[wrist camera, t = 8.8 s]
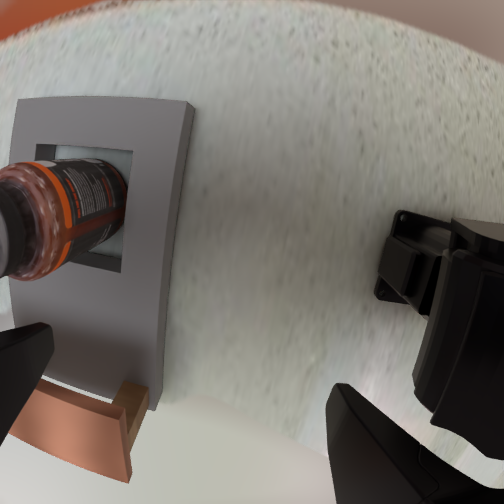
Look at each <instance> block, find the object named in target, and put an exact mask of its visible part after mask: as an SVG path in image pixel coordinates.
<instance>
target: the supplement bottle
mask: <svg viewBox="0 0 504 504" xmlns="http://www.w3.org/2000/svg"><path fill="white" fill-rule="evenodd" d="M126 202H127V192H126V188H125V185H124V182H123V180H122V178H121V176H120V175H119V173H118V172H117V171H116V170H115V169H114V168H113V167H112V166H111V165H109V164H108V163H106V162H104V161H101V160H98V159H89V158H84V159H60V160H43V161H30V162H18V163H14V164H10V165H8V166H6V167H4V168H2V169H1V170H0V278H2V277H4V276H9V277H11V278H13V279H16V280H18V281H34V280H37V279H40V278H42V277H44V276H46V275H48V274H50V273H51V272H53V271H55V270H56V269H58V268H60V267H61V266H63V265H65V264H66V263H68V262H70V261H71V260H73V259H75V258H76V257H78V256H80V255H81V254H83V253H85V252H86V251H88V250H90V249H92V248H94V247H95V246H97V245H99V244H100V243H102V242H104V241H105V240H107V239H108V238H110V237H111V236H112V235H114V234H115V233H116V231H117V230H118V229H119V228H120V226H121V225H122V223H123V220H124V218H125V212H126Z"/></svg>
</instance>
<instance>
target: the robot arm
mask: <svg viewBox="0 0 504 504" xmlns="http://www.w3.org/2000/svg"><path fill="white" fill-rule="evenodd" d="M403 214H404V220H402V221H401V219H400V217H401V215H403ZM378 273H379V278H378V281H377V284H376V288H375V291H374V294H375V296H376V298H377V299H378V300H381V301H388V302H395V303H402V304H409V305H411V306H412V307H413V308H414V309H415V310H416V311H417V312H418V313H419V314H420V315H422V316H423V317H424V318H425V319H426V320H427V321H428V323H427V327H426V330H425V334H424V337H423V341H422V344H421V348H420V351H419V354H418V357H417V360H416V364H415V367H414V370H413V373H412V377H413V382H414V386H415V390H414V394H415V396H416V397H417V399H418V400H419V401H420V403H421V404H422V405H423V406H424V407H425V408H427V409H428V410H429V411H430V412H431V413H433V416H432V418H431V420H430V423H431V424H432V425H434V426H438V427H441V428H444V429H447V430H450V431H452V432H454V433H456V434H457V435H459V436H461V437H463V438H464V439H466V440H467V441H468V442H470V443H471V444H472V445H473V446H474V447H476V448H477V449H478V450H479V451H480V452H481V453H482V454H484V455H485V456H486V457H488V458H493V459H498V460H504V224H499V223H492V222H484V221H476V220H469V219H460V218H451V223H447V222H444V221H441V220H437V219H434V218H430V217H427V216H423V215H420V214H416V213H413V212H409V211H405V210H399V211H397V213H396V215H395V218H394V222H393V226H392V230H391V234H390V236H389V237H388V238H387V240H386V244H385V248H384V251H383V255H382V259H381V262H380V266H379V269H378ZM383 290H384V293H383V294H382V295H379V293H380V292H381V291H383ZM54 350H55V345H54V337H53V329H52V327H51V325H49V324H46V323H43V322H38V323H34V324H30V325H26V326H22V327H18V328H14V329H10V330H6V331H2V332H0V446H1V444H2V443H3V441H4V439H5V437H6V436H7V434H8V432H9V430H10V429H11V427H12V425H13V424H14V422H15V420H16V419H17V417H18V415H19V414H20V412H21V410H22V409H23V407H24V406H25V404H26V402H27V401H28V399H29V398H30V396H31V394H32V393H33V391H34V390H35V388H36V386H37V384H38V383H39V381H40V379H41V377H42V375H43V373H44V371H45V369H46V367H47V365H48V363H49V361H50V359H51V357H52V355H53V353H54ZM326 427H327V447H328V455H329V460H330V467H331V472H332V478H333V484H334V490H335V496H336V503H337V504H504V489H495V488H489V487H486V486H484V485H482V484H480V483H478V482H476V481H475V480H473V479H471V478H470V477H468V476H467V475H465V474H463V473H462V472H460V471H459V470H457V469H455V468H454V467H452V466H451V465H449V464H448V463H446V462H445V461H443V460H442V459H440V458H439V457H438V456H436V455H435V454H434V453H432V452H431V451H430V450H428V449H427V448H426V447H425V446H423V445H422V444H420V442H418V441H417V440H416V439H415V438H413V437H412V436H411V435H410V434H408V433H407V432H406V431H405V430H403V429H402V428H401V427H400V426H398V425H397V424H396V423H395V422H394V421H392V420H391V419H390V418H389V417H387V416H386V415H385V414H384V413H383V412H381V411H380V410H379V409H378V408H377V407H375V406H374V405H373V404H372V403H371V402H369V401H368V400H367V399H366V398H365V397H363V396H362V395H361V394H360V393H359V392H357V391H356V390H355V389H354V388H353V387H352V386H350V385H349V384H346V383H336V384H335V385H334V386H333V388H332V391H331V393H330V396H329V398H328V400H327V403H326Z"/></svg>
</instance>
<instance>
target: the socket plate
mask: <svg viewBox="0 0 504 504" xmlns="http://www.w3.org/2000/svg"><path fill="white" fill-rule="evenodd" d="M194 112H195V108H194V107H193V106H192V105H190V104H189V103H188V102H187V101H177V100H166V99H153V98H136V97H108V96H71V97H44V98H29V99H18V102H17V107H16V113H15V119H14V125H13V131H12V138H11V146H10V155H9V165H10V164H14V163H18V162H30V161H43V160H54V156H55V148H56V145H72V146H86V147H99V148H111V149H121V150H131V151H133V156H132V163H131V170H130V177H129V185H128V193H127V202H126V212H125V222H124V234H123V248H122V259H118V258H113V257H108V256H104V255H99V254H94V253H90V252H85V253H83V254H81V255H80V256H78V257H76V258H75V259H73V260H71V261H70V262H68V263H66V264H65V265H63V266H61V267H60V268H58V269H56V270H55V271H53V272H51V273H50V274H48V275H46V276H44V277H42V278H40V279H37V280H34V281H18V280H16V279H13V278H11V277H9V287H10V296H11V304H12V311H13V318H14V324H15V328H18V327H22V326H26V325H30V324H34V323H38V322H43V323H46V324H49V325H51V327H52V329H53V337H54V345H55V350H54V353H53V355H52V357H51V359H50V361H49V363H48V365H47V367H46V369H45V371H44V373H43V375H45V376H47V377H50V378H52V379H55V380H57V381H60V382H62V383H65V384H68V385H70V386H73V387H76V388H79V389H82V390H85V391H87V392H90V393H93V394H96V395H99V396H102V397H106V398H109V399H112V400H113V399H114V398H115V396H116V394H117V392H118V390H119V389H120V387H121V385H122V383H123V381H127V382H131V383H134V384H138V385H142V386H146V387H149V406H148V410H152V411H155V410H156V407H157V405H158V402H159V399H160V397H161V394H162V385H163V363H164V345H165V330H166V316H167V304H168V293H169V282H170V273H171V263H172V254H173V246H174V237H175V229H176V222H177V214H178V207H179V200H180V193H181V186H182V180H183V174H184V167H185V161H186V155H187V150H188V144H189V138H190V133H191V128H192V122H193V117H194Z"/></svg>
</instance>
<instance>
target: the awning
mask: <svg viewBox="0 0 504 504" xmlns="http://www.w3.org/2000/svg"><path fill="white" fill-rule="evenodd" d="M148 406H149V387H146V386H142V385H138V384H134V383H131V382H127V381H123V383H122V385H121V387H120V389H119V390H118V392H117V394H116V396H115V398H114V399H113V401H112V403H111V404H110V403H107V402H104V401H101V400H98V399H95V398H92V397H89V396H86V395H83V394H80V393H77V392H75V391H72V390H69V389H67V388H64V387H61V386H59V385H56V384H54V383H51V382H49V381H46V380H44V379H40V381H39V383H38V384H37V386H36V388H35V390H34V391H33V393H32V394H31V396H30V398H29V399H28V401H27V402H26V404H25V406H24V407H23V409H22V410H21V412H20V414H19V415H18V417H17V419H16V420H15V422H14V424H13V425H12V427H11V429H10V430H9V432H8V433H9V434H11V435H13V436H15V437H17V438H19V439H20V440H22V441H24V442H26V443H28V444H30V445H32V446H34V447H36V448H38V449H40V450H42V451H44V452H46V453H48V454H51V455H53V456H55V457H57V458H60V459H62V460H64V461H67V462H69V463H72V464H74V465H76V466H79V467H82V468H84V469H87V470H89V471H92V472H95V473H97V474H100V475H103V476H106V477H109V478H112V479H115V480H118V481H121V482H125V483H129V481H130V478H131V475H132V466H131V459H130V451H131V449H132V446H133V443H134V441H135V439H136V436H137V433H138V431H139V429H140V426H141V424H142V421H143V419H144V416H145V413H146V411H147V409H148Z"/></svg>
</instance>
